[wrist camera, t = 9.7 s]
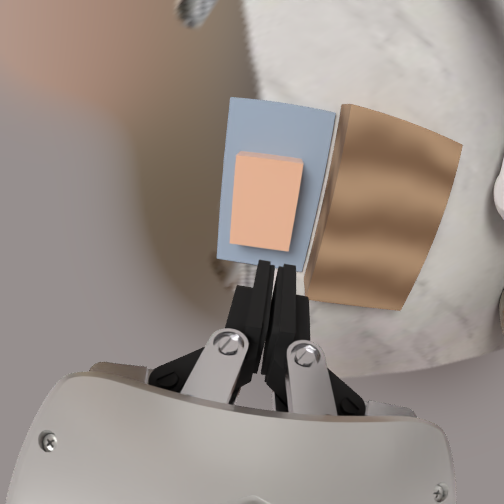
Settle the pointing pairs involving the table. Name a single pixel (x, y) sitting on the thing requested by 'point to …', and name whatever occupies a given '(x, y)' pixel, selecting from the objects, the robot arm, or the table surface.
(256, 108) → the mat
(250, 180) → the tile
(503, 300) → the vase
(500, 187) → the headphones
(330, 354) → the table surface
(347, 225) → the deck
